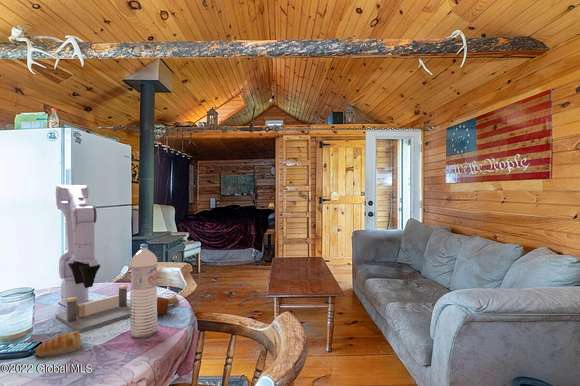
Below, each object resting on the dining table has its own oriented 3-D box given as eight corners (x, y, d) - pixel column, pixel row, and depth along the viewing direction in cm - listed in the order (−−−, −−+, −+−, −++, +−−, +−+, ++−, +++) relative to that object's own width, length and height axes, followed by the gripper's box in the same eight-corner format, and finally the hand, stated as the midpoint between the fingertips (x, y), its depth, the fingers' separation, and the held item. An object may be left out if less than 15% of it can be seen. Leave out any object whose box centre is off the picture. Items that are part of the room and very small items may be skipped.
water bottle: (139, 341, 85) (140, 247, 85) (125, 335, 89) (125, 245, 88) (162, 331, 91) (162, 243, 91) (147, 326, 94) (147, 241, 94)
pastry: (35, 362, 75) (35, 346, 75) (35, 351, 80) (35, 336, 80) (83, 350, 81) (83, 334, 81) (79, 340, 86) (79, 326, 86)
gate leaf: (116, 305, 108) (116, 294, 108) (119, 306, 107) (119, 295, 107) (76, 316, 98) (76, 304, 98) (79, 317, 97) (79, 305, 97)
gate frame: (55, 317, 100) (55, 294, 100) (117, 301, 116) (117, 280, 116) (79, 332, 90) (79, 306, 90) (144, 312, 105) (144, 289, 105)
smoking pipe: (143, 319, 100) (143, 300, 100) (160, 299, 119) (160, 283, 119) (166, 318, 101) (166, 300, 101) (180, 298, 119) (180, 283, 119)
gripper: (60, 242, 104) (60, 284, 104) (79, 247, 96) (79, 292, 96) (84, 240, 110) (84, 279, 110) (104, 244, 102) (104, 287, 102)
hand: (84, 285), depth 103 cm, fingers open, 6 cm apart
